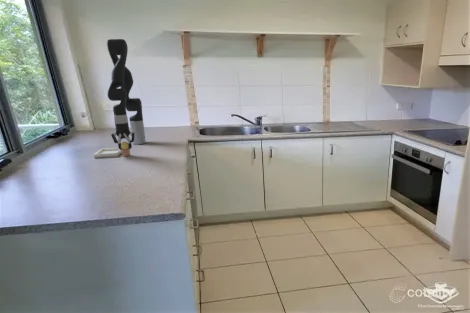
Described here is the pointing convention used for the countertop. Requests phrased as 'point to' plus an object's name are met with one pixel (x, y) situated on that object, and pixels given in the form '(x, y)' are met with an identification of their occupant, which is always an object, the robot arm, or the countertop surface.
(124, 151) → the cup
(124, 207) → the countertop surface
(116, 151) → the tray
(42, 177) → the countertop surface
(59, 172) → the countertop surface
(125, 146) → the ball
